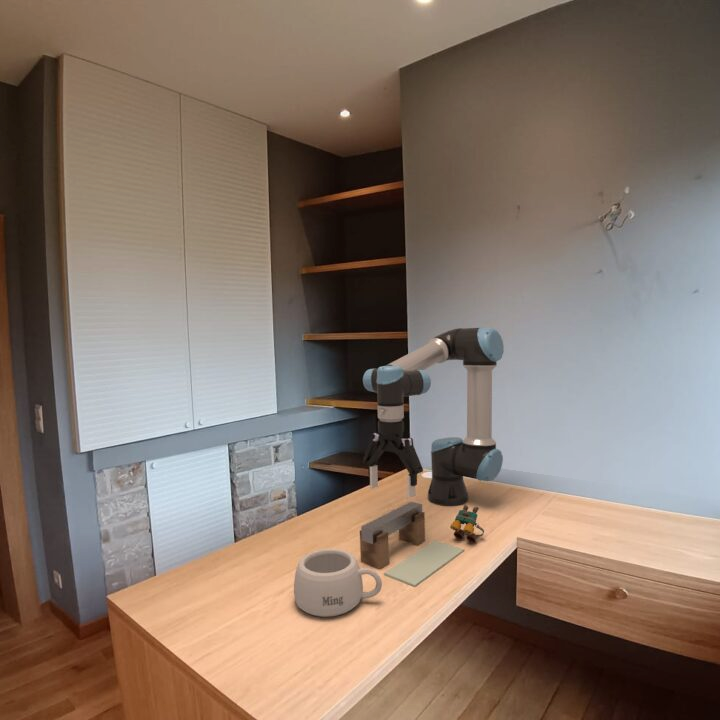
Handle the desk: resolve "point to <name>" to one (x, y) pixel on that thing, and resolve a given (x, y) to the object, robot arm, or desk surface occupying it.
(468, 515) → the binoculars
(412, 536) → the rack
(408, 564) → the mat
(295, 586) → the mug
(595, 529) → the desk surface
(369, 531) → the rail
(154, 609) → the desk surface
